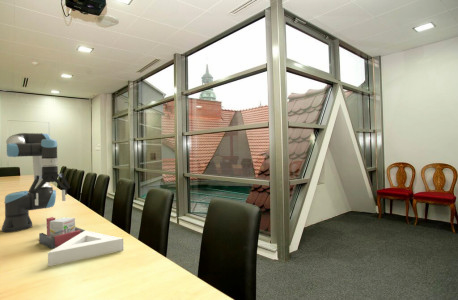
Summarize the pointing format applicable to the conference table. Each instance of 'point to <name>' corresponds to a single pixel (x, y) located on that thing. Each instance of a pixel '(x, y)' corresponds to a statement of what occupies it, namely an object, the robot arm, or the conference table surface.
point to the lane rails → (50, 239)
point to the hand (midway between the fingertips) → (50, 202)
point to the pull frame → (61, 238)
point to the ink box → (62, 226)
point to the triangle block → (85, 247)
